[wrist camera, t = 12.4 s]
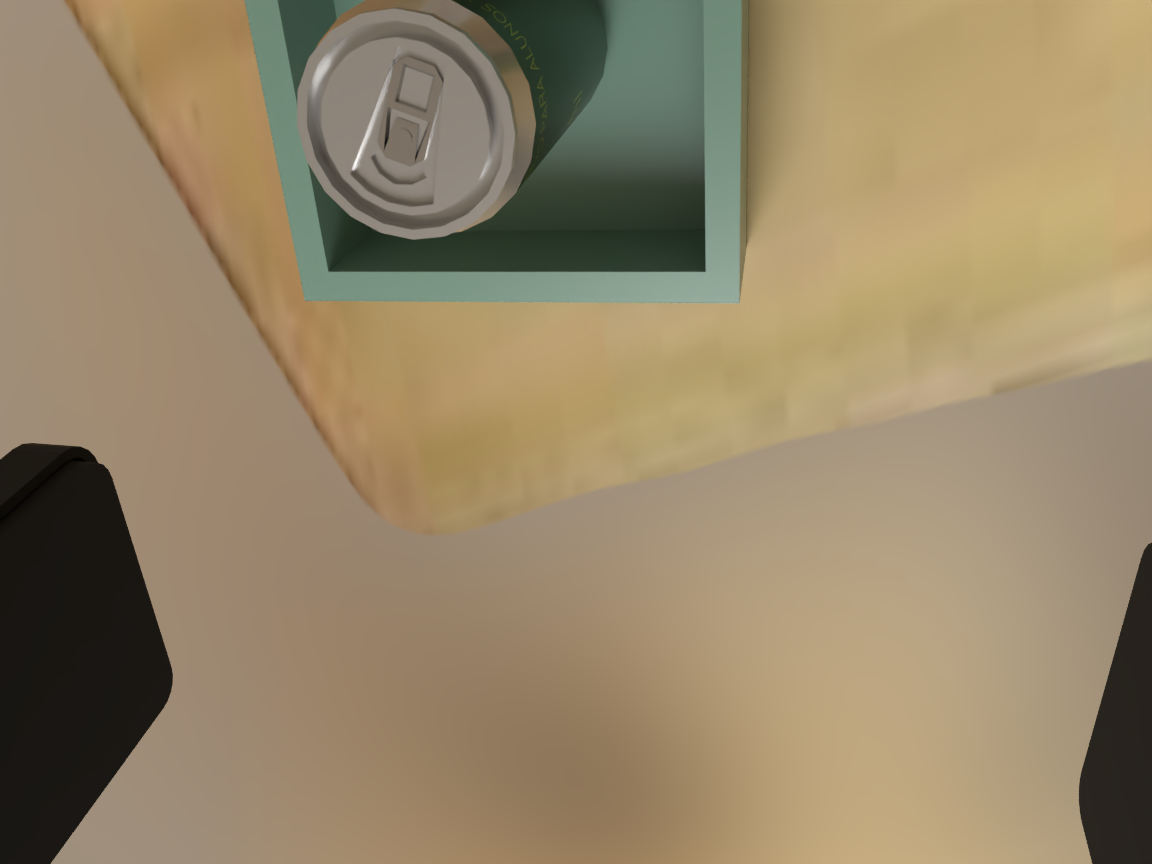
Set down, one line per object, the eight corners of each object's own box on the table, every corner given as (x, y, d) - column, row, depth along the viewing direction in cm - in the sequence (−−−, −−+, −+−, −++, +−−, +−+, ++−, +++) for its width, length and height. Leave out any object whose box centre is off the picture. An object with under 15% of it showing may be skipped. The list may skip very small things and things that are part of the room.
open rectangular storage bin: (751, -235, 30) (743, -246, 25) (746, 248, 36) (739, 303, 32) (283, -193, 32) (204, -198, 28) (359, 249, 39) (304, 300, 35)
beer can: (467, -80, 32) (309, -43, 22) (634, -18, 32) (557, 49, 22) (426, 94, 35) (268, 201, 24) (581, 151, 35) (488, 282, 24)
